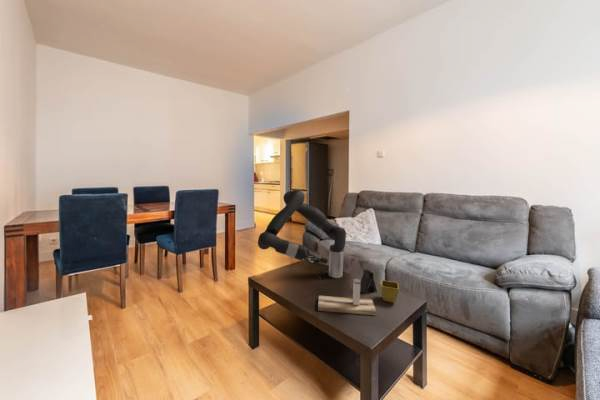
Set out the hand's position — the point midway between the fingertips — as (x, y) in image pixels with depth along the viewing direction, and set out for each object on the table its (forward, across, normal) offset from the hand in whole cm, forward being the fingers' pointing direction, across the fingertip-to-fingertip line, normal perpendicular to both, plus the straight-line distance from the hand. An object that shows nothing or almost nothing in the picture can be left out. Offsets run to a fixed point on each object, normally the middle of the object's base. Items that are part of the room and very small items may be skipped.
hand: (327, 261), depth 133 cm
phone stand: (+32, +13, +16) cm, 38 cm away
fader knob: (+20, -7, +14) cm, 25 cm away
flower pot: (+40, +2, +11) cm, 42 cm away
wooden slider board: (+16, -7, +18) cm, 25 cm away
